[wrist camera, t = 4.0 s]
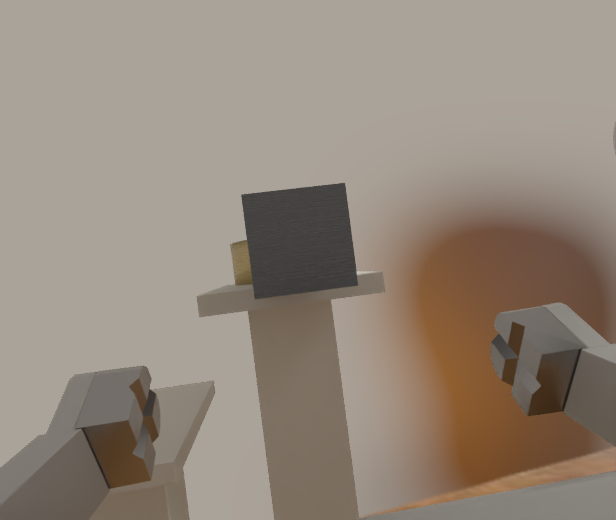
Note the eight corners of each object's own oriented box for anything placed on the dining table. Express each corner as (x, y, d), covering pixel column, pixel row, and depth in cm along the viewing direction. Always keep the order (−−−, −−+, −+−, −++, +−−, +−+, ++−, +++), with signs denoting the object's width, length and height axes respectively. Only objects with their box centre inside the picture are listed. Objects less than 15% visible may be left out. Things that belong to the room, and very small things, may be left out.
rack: (128, 630, 36) (88, 303, 37) (375, 583, 38) (335, 271, 39) (19, 910, 21) (-50, 328, 21) (452, 806, 22) (382, 271, 23)
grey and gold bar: (238, 284, 37) (233, 247, 37) (324, 272, 38) (319, 236, 38) (183, 308, 13) (170, 202, 13) (425, 276, 14) (411, 175, 14)
